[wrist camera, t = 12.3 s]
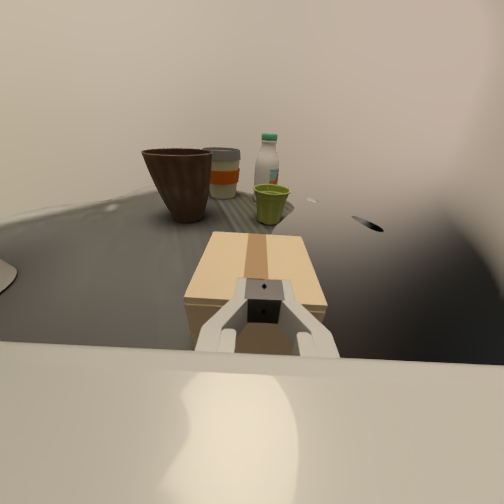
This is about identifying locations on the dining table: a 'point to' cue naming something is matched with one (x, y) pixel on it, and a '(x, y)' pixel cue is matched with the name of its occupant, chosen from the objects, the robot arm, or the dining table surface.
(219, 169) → the reusable coffee cup
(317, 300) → the lid
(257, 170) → the milk bottle
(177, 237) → the dining table surface
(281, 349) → the box
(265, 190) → the plant pot
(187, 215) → the plant pot
